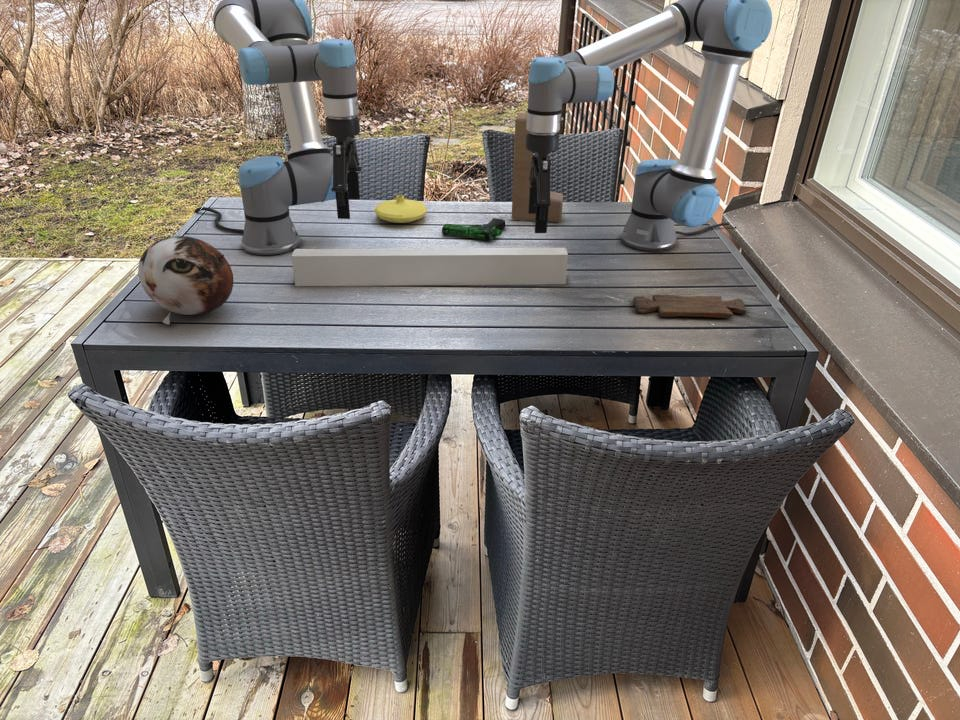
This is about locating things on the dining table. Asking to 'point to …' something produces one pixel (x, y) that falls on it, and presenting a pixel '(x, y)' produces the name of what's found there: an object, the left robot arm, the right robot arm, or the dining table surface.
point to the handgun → (476, 230)
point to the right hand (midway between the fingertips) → (537, 222)
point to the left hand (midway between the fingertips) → (349, 208)
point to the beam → (429, 266)
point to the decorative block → (522, 179)
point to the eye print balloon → (185, 276)
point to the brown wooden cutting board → (689, 306)
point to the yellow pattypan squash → (400, 210)
